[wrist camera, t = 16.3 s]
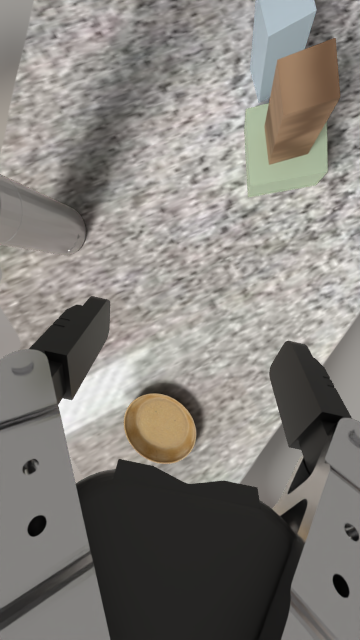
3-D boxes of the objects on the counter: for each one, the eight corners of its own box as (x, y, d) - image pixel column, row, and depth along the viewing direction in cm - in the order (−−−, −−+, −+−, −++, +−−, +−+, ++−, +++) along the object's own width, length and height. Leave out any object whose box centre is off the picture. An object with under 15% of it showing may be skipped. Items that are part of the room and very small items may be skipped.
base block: (247, 198, 39) (249, 186, 34) (244, 131, 37) (245, 109, 32) (317, 185, 36) (330, 171, 31) (315, 114, 35) (329, 87, 30)
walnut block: (268, 164, 33) (283, 115, 23) (264, 126, 32) (277, 59, 23) (307, 154, 32) (340, 97, 22) (303, 113, 31) (335, 37, 21)
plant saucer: (115, 415, 50) (109, 422, 48) (161, 373, 47) (157, 378, 44) (162, 467, 50) (159, 476, 47) (213, 428, 46) (212, 437, 43)
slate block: (258, 102, 36) (268, 36, 26) (250, 68, 36) (256, -11, 26) (293, 86, 35) (316, 10, 25) (284, 50, 34) (305, -41, 25)
